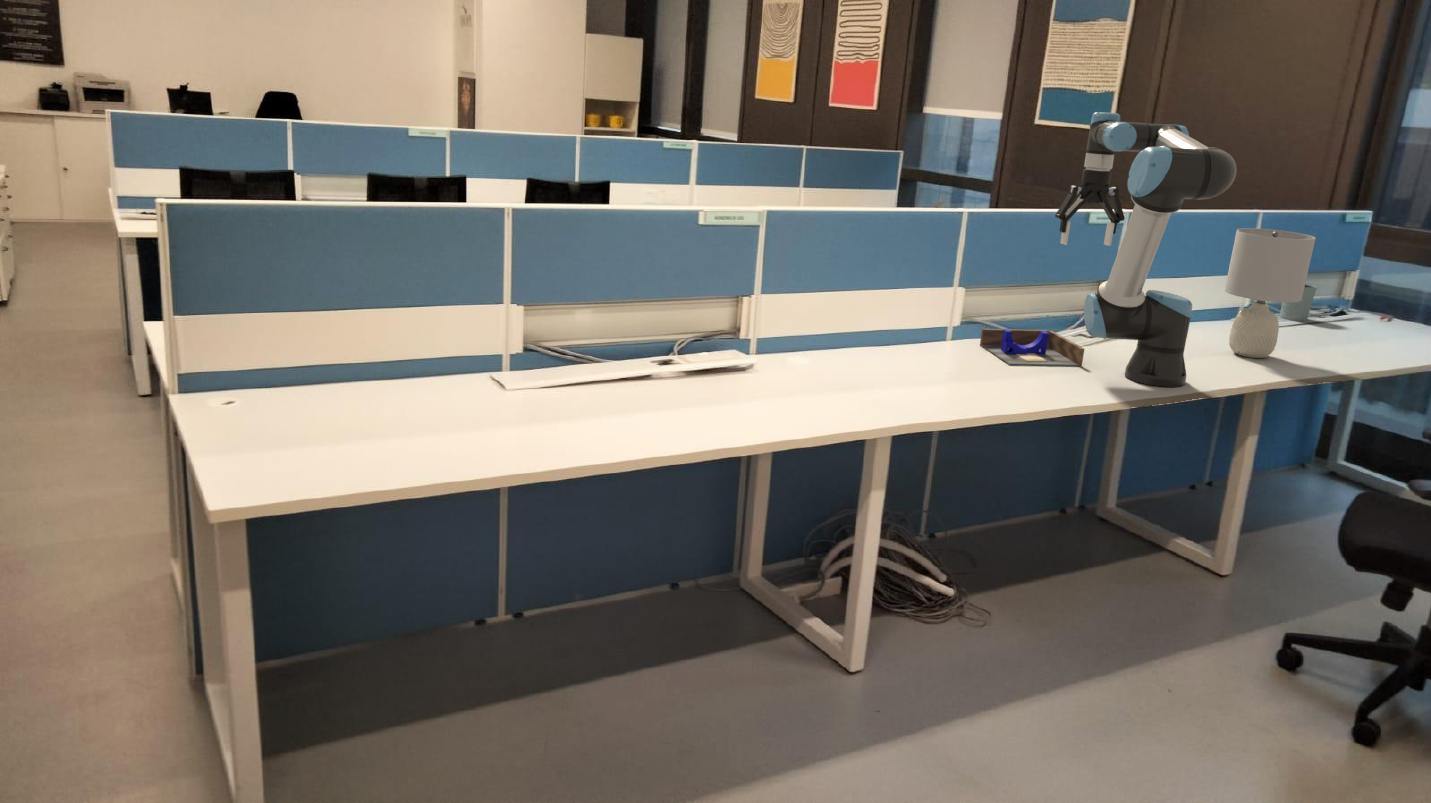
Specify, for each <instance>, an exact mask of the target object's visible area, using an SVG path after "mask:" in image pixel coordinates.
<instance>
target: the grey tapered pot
mask: <svg viewBox="0 0 1431 803" xmlns="http://www.w3.org/2000/svg"><path fill="white" fill-rule="evenodd" d="M1317 288H1318V287H1317V285H1313V284H1309V283H1305V287H1304V291H1303V296H1302V300H1301V301H1299V302H1289V303H1287V302H1281V308H1280V314H1279V317H1280V318H1281V319H1283V320H1288V321H1295V322H1307V320H1308V319H1309V315H1310V310H1311V308H1312V305H1313V301H1314V297H1315V294H1316V292H1317Z"/></svg>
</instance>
